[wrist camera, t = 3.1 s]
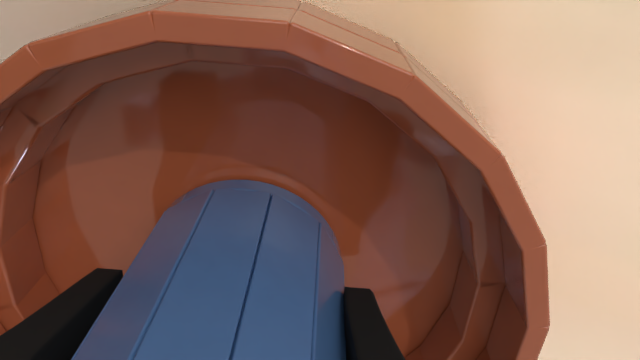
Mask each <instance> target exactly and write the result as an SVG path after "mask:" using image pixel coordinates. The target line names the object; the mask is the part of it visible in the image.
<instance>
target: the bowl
mask: <svg viewBox="0 0 640 360" xmlns="http://www.w3.org/2000/svg"><path fill="white" fill-rule="evenodd" d="M233 179H237V180H253V181H261V182H265V183H269V184H272V185H276V186H278V187H281V188H283V189H286V190H288V191H290V192H292V193H294V194H296V195H298V196H299V197H301V198H302V199H304V200H305V201H306V202H308V203H309V204H310V205H311V206H313V207H314V208H315V209H316V210H317V211H318V212H319V213H320V214H321V215H322V216H323V218H324V219H325V220H326V221H327V222H328V224H329V226H330V227H331V229H332V230H333V232H334V234H335V236H336V238H337V241H338V244H339V247H340V251H341V258H342V260H343V264H344V281H345V287H354V288H367V289H370V290H371V291H372V292H373V293H374V296H375V298H376V301H377V303H378V306H379V308H380V311H381V313H382V315H383V317H384V320H385V322H386V324H387V326H388V328H389V330H390V332H391V334H392V336H393V338H394V340H395V342H396V343H397V345H398V347H399V349H400V351H401V353H402V354H403V356H404V358H405V360H537V359H538V356H539V354H540V351H541V348H542V346H543V343H544V341H545V338H546V336H547V333H548V331H549V326H550V316H549V291H548V266H547V245H546V243H545V238H544V236H543V234H542V232H541V230H540V228H539V226H538V224H537V222H536V220H535V218H534V216H533V214H532V212H531V210H530V208H529V206H528V204H527V202H526V200H525V198H524V196H523V193H522V191H521V189H520V187H519V185H518V183H517V181H516V179H515V177H514V175H513V173H512V171H511V169H510V167H509V165H508V163H507V161H506V159H505V157H504V155H503V154H502V153H501V151H500V150H499V149H498V148H497V146H496V145H495V144H494V142H493V141H492V140H491V139H490V137H489V136H488V135H487V133H486V132H485V131H484V130H483V128H482V127H481V126H480V125H479V123H478V122H477V121H476V119H475V118H474V117H473V115H472V114H471V113H470V112H469V110H468V109H467V108H466V106H465V105H464V104H463V103H462V102H461V101H460V100H459V99H458V98H457V97H456V96H455V95H454V94H453V93H452V92H451V91H450V90H448V89H447V88H446V87H445V86H444V85H443V84H442V83H441V82H440V81H439V80H438V79H437V78H435V77H434V76H433V75H432V74H431V73H430V72H429V71H428V70H427V69H426V68H425V67H424V66H422V65H421V64H420V63H419V62H418V61H417V60H416V59H415V58H414V57H413V56H412V55H410V54H409V53H408V52H407V51H406V50H405V49H404V48H403V47H402V46H401V45H400V44H399V43H397V42H394V41H393V40H392V39H390V38H388V37H385V36H383V35H381V34H378V33H376V32H374V31H371V30H369V29H367V28H365V27H362V26H360V25H358V24H355V23H353V22H351V21H348V20H346V19H344V18H341V17H339V16H337V15H335V14H332V13H330V12H328V11H325V10H323V9H321V8H318V7H316V6H314V5H311V4H309V3H307V2H302V3H301V1H300V0H165V1H162V2H158V3H154V4H150V5H147V6H143V7H139V8H136V9H132V10H128V11H125V12H121V13H117V14H114V15H110V16H106V17H103V18H100V19H97V20H94V21H91V22H88V23H85V24H82V25H80V26H77V27H74V28H71V29H68V30H65V31H62V32H59V33H56V34H53V35H50V36H47V37H44V38H41V39H38V40H35V41H32V42H30V43H29V44H26V45H24V46H23V47H21V48H20V49H19V50H17V51H16V52H15V53H14V54H12V55H11V56H10V57H8V58H7V59H6V60H5V61H3V62H2V63H1V64H0V335H2V334H4V333H5V332H7V331H8V330H10V329H11V328H13V327H14V326H16V325H17V324H19V323H20V322H22V321H23V320H24V319H26V318H27V317H29V316H30V315H32V314H33V313H34V312H36V311H37V310H39V309H40V308H41V307H43V306H44V305H46V304H47V303H49V302H50V301H51V300H53V299H54V298H56V297H57V296H58V295H60V294H61V293H62V292H64V291H65V290H67V289H68V288H69V287H71V286H72V285H73V284H75V283H76V282H78V281H79V280H80V279H82V278H83V277H85V276H86V275H87V274H89V273H90V272H92V271H93V270H95V269H96V268H104V269H118V270H122V271H123V276H124V274H125V273H126V271H127V270H128V268H129V266H130V265H131V263H132V262H133V260H134V258H135V257H136V255H137V254H138V252H139V251H140V249H141V247H142V246H143V244H144V243H145V241H146V239H147V238H148V236H149V235H150V233H151V232H152V230H153V228H154V227H155V225H156V224H157V222H158V220H159V219H160V217H161V216H162V214H163V213H164V211H166V209H167V208H168V207H169V206H170V205H171V204H172V203H173V202H174V201H175V200H177V199H178V198H180V197H181V196H182V195H184V194H185V193H187V192H189V191H191V190H193V189H195V188H197V187H200V186H203V185H205V184H209V183H213V182H217V181H223V180H233Z"/></svg>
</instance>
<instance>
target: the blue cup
mask: <svg viewBox="0 0 640 360" xmlns="http://www.w3.org/2000/svg"><path fill="white" fill-rule="evenodd" d="M344 287H345V281H344V264H343V260H342V258H341V251H340V247H339V244H338V241H337V238H336V236H335V234H334V232H333V230H332V229H331V227H330V226H329V224H328V222H327V221H326V220H325V219H324V218H323V216H322V215H321V214H320V213H319V212H318V211H317V210H316V209H315V208H314V207H313V206H311V205H310V204H309V203H308V202H306V201H305V200H304V199H302V198H301V197H299V196H298V195H296V194H294V193H292V192H290V191H288V190H286V189H283V188H281V187H278V186H276V185H272V184H269V183H265V182H261V181H253V180H237V179H233V180H223V181H217V182H213V183H209V184H205V185H203V186H200V187H197V188H195V189H193V190H191V191H189V192H187V193H185V194H184V195H182V196H181V197H180V198H178V199H177V200H175V201H174V202H173V203H172V204H171V205H170V206H169V207H168V208H167V209H166V211H164V213H163V214H162V216H161V217H160V219H159V220H158V222H157V224H156V225H155V227H154V228H153V230H152V232H151V233H150V235H149V236H148V238H147V239H146V241H145V243H144V244H143V246H142V247H141V249H140V251H139V252H138V254H137V255H136V257H135V258H134V260H133V262H132V263H131V265H130V266H129V268H128V270H127V271H126V273H125V274H124V276H123V278H122V279H121V281H120V282H119V284H118V285H117V287H116V289H115V290H114V292H113V293H112V295H111V297H110V298H109V300H108V301H107V303H106V304H105V306H104V308H103V309H102V311H101V312H100V314H99V316H98V317H97V319H96V320H95V322H94V324H93V325H92V327H91V328H90V330H89V331H88V333H87V335H86V336H85V338H84V339H83V341H82V343H81V344H80V346H79V347H78V349H77V350H76V352H75V354H74V355H73V357H72V358H71V360H347V359H346V340H345V326H344Z"/></svg>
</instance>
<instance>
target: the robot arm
mask: <svg viewBox="0 0 640 360" xmlns="http://www.w3.org/2000/svg"><path fill="white" fill-rule="evenodd" d="M122 278H123V271H122V270H118V269H104V268H96V269H95V270H93V271H92V272H90V273H89V274H87V275H86V276H85V277H83V278H82V279H80V280H79V281H78V282H76V283H75V284H73V285H72V286H71V287H69V288H68V289H67V290H65V291H64V292H62V293H61V294H60V295H58V296H57V297H56V298H54V299H53V300H51V301H50V302H49V303H47V304H46V305H44V306H43V307H41V308H40V309H39V310H37V311H36V312H34V313H33V314H32V315H30V316H29V317H27V318H26V319H24V320H23V321H22V322H20V323H19V324H17V325H16V326H14V327H13V328H11V329H10V330H8V331H7V332H5V333H4V334H2V335H0V360H71V358H72V357H73V355H74V354H75V352H76V350H77V349H78V347H79V346H80V344H81V343H82V341H83V339H84V338H85V336H86V335H87V333H88V331H89V330H90V328H91V327H92V325H93V324H94V322H95V320H96V319H97V317H98V316H99V314H100V312H101V311H102V309H103V308H104V306H105V304H106V303H107V301H108V300H109V298H110V297H111V295H112V293H113V292H114V290H115V289H116V287H117V285H118V284H119V282H120V281H121V279H122ZM344 326H345V340H346V359H347V360H405V358H404V356H403V354H402V353H401V351H400V349H399V347H398V345H397V343H396V342H395V340H394V338H393V336H392V334H391V332H390V330H389V328H388V326H387V324H386V322H385V320H384V317H383V315H382V313H381V311H380V308H379V306H378V303H377V301H376V298H375V296H374V293H373V292H372V291H371V290H370V289H367V288H354V287H344Z"/></svg>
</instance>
